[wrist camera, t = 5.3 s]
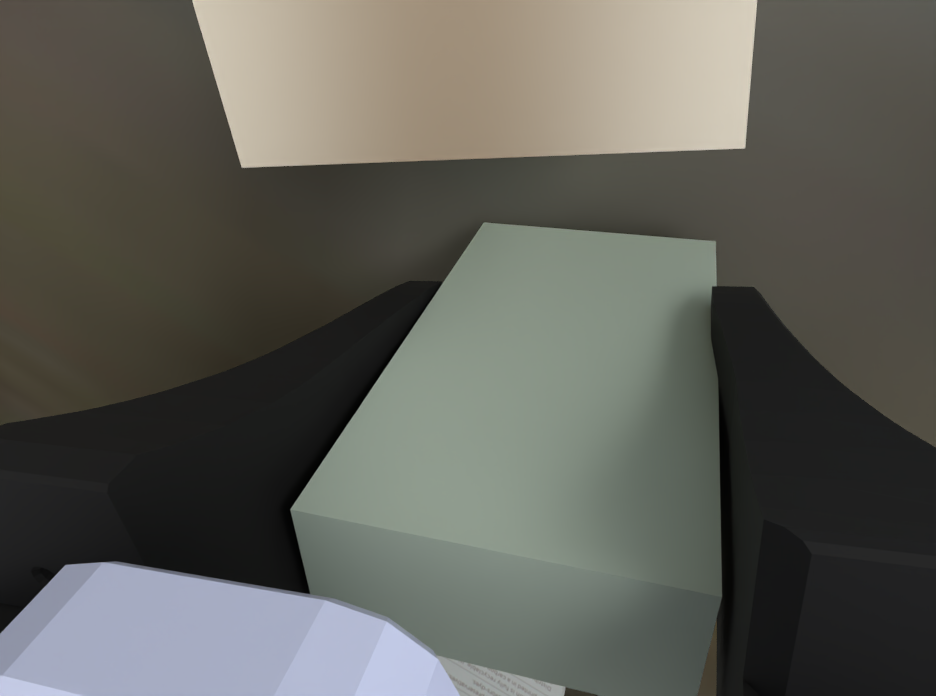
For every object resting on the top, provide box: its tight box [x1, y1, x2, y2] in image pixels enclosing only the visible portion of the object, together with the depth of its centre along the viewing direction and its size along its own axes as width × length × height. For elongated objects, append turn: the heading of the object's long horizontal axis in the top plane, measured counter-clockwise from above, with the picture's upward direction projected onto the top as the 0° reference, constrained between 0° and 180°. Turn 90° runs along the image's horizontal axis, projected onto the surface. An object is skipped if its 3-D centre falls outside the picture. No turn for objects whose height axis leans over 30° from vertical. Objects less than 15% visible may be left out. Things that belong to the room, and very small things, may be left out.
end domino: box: [290, 222, 722, 696], centre depth 11 cm, size 4×2×8 cm, turn 92°
